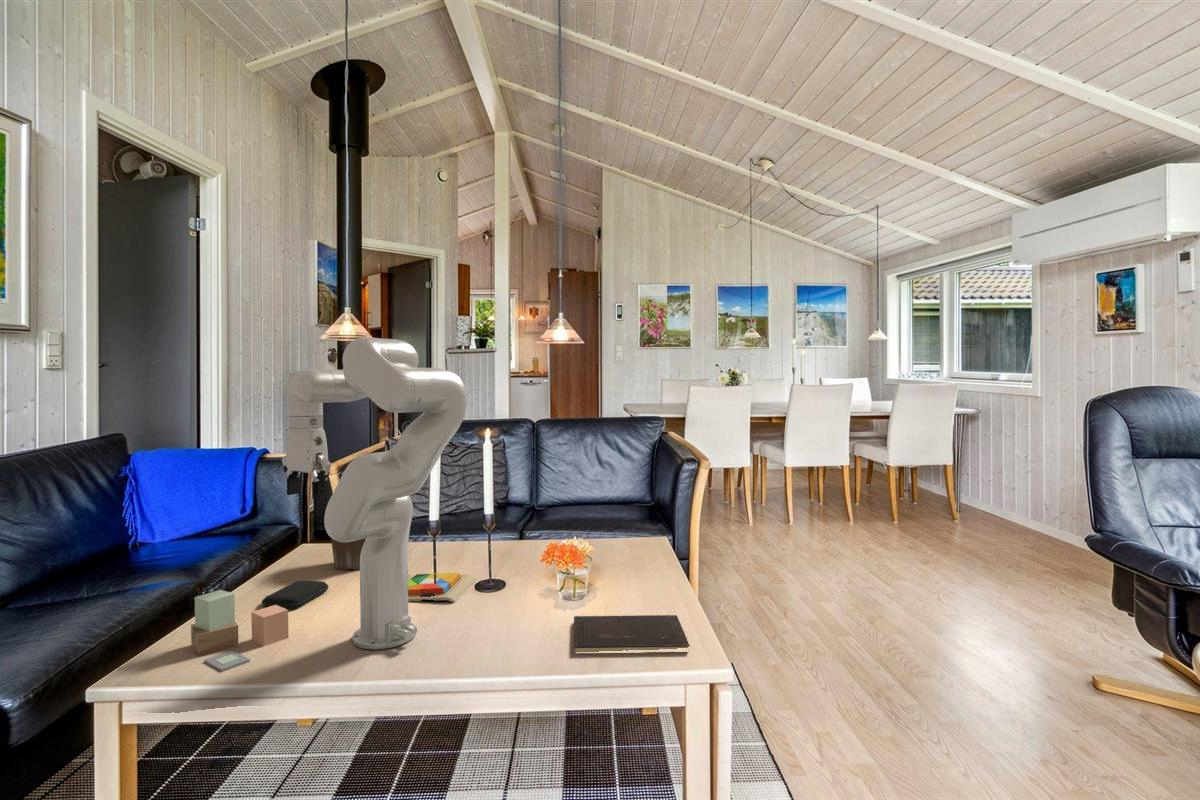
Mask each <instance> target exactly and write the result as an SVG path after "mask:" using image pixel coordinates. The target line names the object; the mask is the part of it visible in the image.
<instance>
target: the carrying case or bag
mask: <svg viewBox="0 0 1200 800" xmlns="http://www.w3.org/2000/svg"><path fill="white" fill-rule="evenodd" d="M328 590H329V585H328V583H327V582H325V581H322V580H320V581H318V580H297V581H295V582H292V583H290V584H287V586H284V587H282V588H280V589H278V590H277V591H275V592H273V593H271V594H268V595H266V596H265V597H264V598H263V599H262V600H261V604H262V605H263V607H264V608H267V607H270V606H273V605H277V606H280V607H282V608H285V609H294V610H297V609H299V607H300V608H301V607H303V606H305V605H307V604H308V603H310V602H311V600H312V601H313V600H315V599H317V598H318V597H320V596H322V595H324V594H325V593H326V592H327V591H328ZM324 592H325V593H324ZM321 594H322V595H321ZM316 597H317V598H316ZM314 598H315V599H314ZM309 601H310V602H309ZM306 603H307V604H306ZM304 604H305V605H304ZM302 605H303V606H302Z"/></svg>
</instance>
